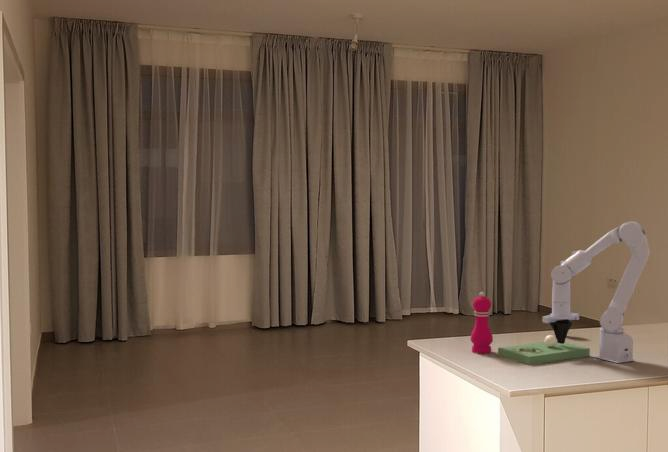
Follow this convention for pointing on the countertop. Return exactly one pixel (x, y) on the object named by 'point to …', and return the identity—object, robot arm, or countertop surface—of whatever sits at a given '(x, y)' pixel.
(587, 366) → the countertop surface
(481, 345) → the pepper mill
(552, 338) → the golf ball
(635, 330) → the countertop surface
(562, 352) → the putting mat
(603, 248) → the robot arm
